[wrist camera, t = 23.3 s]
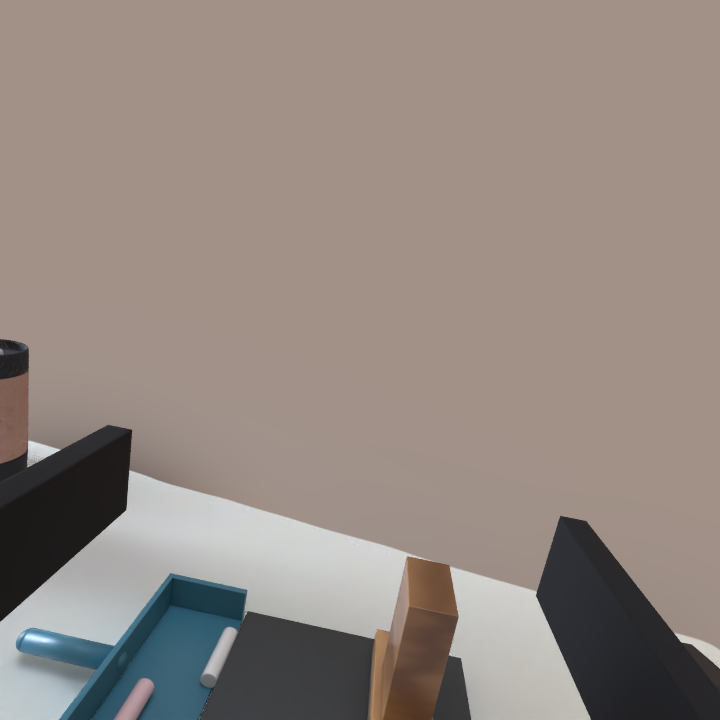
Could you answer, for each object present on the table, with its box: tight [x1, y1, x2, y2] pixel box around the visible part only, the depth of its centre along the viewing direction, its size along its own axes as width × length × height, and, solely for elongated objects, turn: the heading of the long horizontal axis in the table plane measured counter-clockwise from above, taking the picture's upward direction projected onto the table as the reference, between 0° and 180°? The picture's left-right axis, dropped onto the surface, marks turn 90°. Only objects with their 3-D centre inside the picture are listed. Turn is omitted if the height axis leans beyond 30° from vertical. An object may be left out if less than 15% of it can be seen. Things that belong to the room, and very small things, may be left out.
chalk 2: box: [200, 627, 238, 688], centre depth 36 cm, size 1×5×1 cm, turn 175°
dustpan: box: [16, 573, 247, 720], centre depth 33 cm, size 15×16×3 cm
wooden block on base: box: [367, 557, 458, 720], centre depth 31 cm, size 4×12×12 cm, turn 175°
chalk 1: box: [113, 678, 154, 720], centre depth 30 cm, size 1×5×1 cm, turn 175°
